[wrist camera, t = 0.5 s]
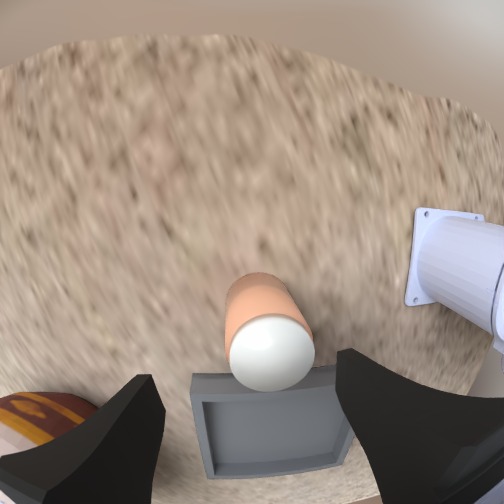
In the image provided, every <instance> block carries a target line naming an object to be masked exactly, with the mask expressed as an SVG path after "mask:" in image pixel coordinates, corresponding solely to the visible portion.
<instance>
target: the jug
mask: <svg viewBox="0 0 504 504" xmlns="http://www.w3.org/2000/svg"><path fill="white" fill-rule="evenodd" d="M97 410H98V408H96V407H95V406H93V405H92V404H91V403H89V402H87V401H86V400H84V399H82V398H80V397H77V396H75V395H72V394H67V393H53V392H19V393H15V394H12V395H9V396H6V397H2V398H0V457H1V456H2V455H8V454H12V453H17V452H21V451H25V450H28V449H31V448H34V447H37V446H39V445H42V444H44V443H47V442H49V441H51V440H53V439H55V438H57V437H59V436H61V435H63V434H65V433H66V432H68V431H70V430H71V429H73V428H74V427H76V426H78V425H79V424H81V423H82V422H83V421H85V420H86V419H87V418H89V417H90V416H91V415H92V414H94V413H95V412H96V411H97ZM0 500H1V501H2V502H4V503H5V504H16V503H14V502H13V501H12V500H11V499H10V498H9V497H7V496H6V495H5V494H4V493H3V492H2V491H1V490H0Z"/></svg>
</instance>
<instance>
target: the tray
mask: <svg viewBox="0 0 504 504" xmlns="http://www.w3.org/2000/svg"><path fill="white" fill-rule="evenodd" d="M336 366H337V365H332V366H324V367H316V368H311V369H310V370H309V372H308V373H307V374H306V376H305V377H304V378H303V379H301V380H300V381H299V382H298V383H296V384H294V385H293V386H291V387H288V388H286V389H283V390H279V391H273V392H262V391H256V390H253V389H250V388H248V387H246V386H244V385H243V384H241V383H240V382H239V381H238V380H237V379H236V378H235V376H234V375H233V373H230V374H195V373H193V375H192V382H191V388H190V399H191V405H192V410H193V416H194V421H195V426H196V431H197V436H198V441H199V445H200V450H201V454H202V458H203V463H204V467H205V471H206V475H207V479H246V478H262V477H273V476H282V475H290V474H297V473H304V472H310V471H315V470H321V469H326V468H330V467H335V466H339V465H342V463H343V461H344V459H345V457H346V454H347V452H348V450H349V447H350V445H351V442H352V440H353V437H354V435H355V433H354V431H353V429H352V427H351V425H350V424H349V422H348V420H347V418H346V416H345V414H344V412H343V410H342V408H341V405H340V403H339V400H338V397H337V394H336V392H335V382H336Z"/></svg>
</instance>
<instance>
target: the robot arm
mask: <svg viewBox="0 0 504 504" xmlns="http://www.w3.org/2000/svg"><path fill="white" fill-rule="evenodd" d="M425 212H426V216H424V213H425ZM414 299H415V300H414ZM413 300H414V301H413ZM404 302H405V304H406V305H407V306H416V305H423V304H429V303H435V302H440V303H441V304H443V305H445V306H446V307H448V308H450V309H451V310H453V311H455V312H456V313H458V314H459V315H461V316H463V317H464V318H466V319H468V320H469V321H471V322H472V323H474V324H475V325H477V326H479V327H480V328H482V329H483V330H485V331H486V332H488V333H490V334H491V335H493V336H494V337H495V341H494V345H493V348H494V349H496V350H497V351H499V352H500V353H502V354H503V355H502V361H501V365H502V370H503V373H504V226H501V225H497V224H492V223H487V222H484V216H483V215H482V214H475V213H467V212H459V211H451V210H442V209H432V208H422V207H419V208H417V209H416V211H415V220H414V234H413V244H412V254H411V262H410V269H409V276H408V283H407V289H406V295H405V301H404ZM335 392H336V394H337V397H338V400H339V403H340V405H341V408H342V410H343V412H344V414H345V416H346V418H347V420H348V422H349V424H350V425H351V427H352V429H353V431H354V433H355V435H356V436H357V438H358V440H359V442H360V444H361V446H362V447H363V449H364V451H365V453H366V456H367V458H368V460H369V463H370V466H371V468H372V471H373V474H374V477H375V479H376V482H377V485H378V488H379V491H380V495H381V498H382V502H383V504H504V398H481V397H470V396H463V395H457V394H453V393H448V392H444V391H440V390H436V389H433V388H430V387H427V386H424V385H421V384H419V383H416V382H414V381H411V380H409V379H407V378H405V377H403V376H400V375H398V374H396V373H394V372H392V371H391V370H389V369H387V368H385V367H383V366H381V365H380V364H378V363H376V362H374V361H373V360H371V359H369V358H368V357H366V356H364V355H363V354H361V353H359V352H358V351H356V350H354V349H352V348H350V349H346V350H342V351H338V352H337V366H336V382H335ZM165 413H166V410H165V408H164V405H163V403H162V401H161V398H160V396H159V393H158V391H157V388H156V386H155V383H154V380H153V378H152V375H151V374H137V375H136V376H135V377H134V378H133V379H131V380H130V381H129V382H128V383H127V384H126V385H125V386H124V387H123V388H122V389H121V390H120V391H119V392H118V393H117V394H115V395H114V396H113V397H112V398H111V399H110V400H109V401H108V402H107V403H106V404H104V405H103V406H102V407H101V408H100V409H98V410H97V411H96V412H95V413H94V414H92V415H91V416H90V417H89V418H87V419H86V420H85V421H83V422H82V423H81V424H79V425H78V426H76V427H74V428H73V429H71V430H70V431H68V432H66V433H65V434H63V435H61V436H59V437H57V438H55V439H53V440H51V441H49V442H47V443H44V444H42V445H39V446H37V447H34V448H31V449H28V450H25V451H21V452H17V453H12V454H8V455H2V456H1V457H0V490H1V491H2V492H3V493H4V494H5V495H6V496H7V497H9V498H10V499H11V500H12V501H13V502H14V503H16V504H151V494H152V482H153V476H154V471H155V466H156V462H157V458H158V454H159V450H160V445H161V441H162V437H163V433H164V424H165ZM0 504H5V503H4V502H2V501H1V500H0Z"/></svg>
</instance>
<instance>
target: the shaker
mask: <svg viewBox="0 0 504 504" xmlns="http://www.w3.org/2000/svg"><path fill="white" fill-rule="evenodd" d="M225 353H226V358H227V361H228V363H229V365H230V368H231V371H232V373H233V375H234V376H235V378H236V379H237V380H238V381H239V382H240V383H241V384H243V385H244V386H246V387H248V388H250V389H253V390H256V391H262V392H273V391H279V390H283V389H286V388H288V387H291V386H293V385H294V384H296V383H298V382H299V381H300V380H301V379H303V378H304V377H305V376H306V374H307V373H308V372H309V370H310V369H311V367H312V365H313V362H314V358H315V348H314V344H313V336H312V332H311V330H310V328H309V326H308V324H307V323H306V321H305V319H304V317H303V316H302V314H301V312H300V311H299V309H298V307H297V306H296V304H295V302H294V301H293V299H292V297H291V295H290V294H289V292H288V290H287V289H286V287H285V286H284V284H283V283H282V282H281V281H280V280H279V279H278V278H276V277H275V276H272V275H270V274H267V273H251V274H248V275H245V276H243V277H241V278H240V279H238V280H237V281H236V282H235V283H234V284H233V285H232V286H231V288H230V289H229V291H228V293H227V297H226V320H225Z"/></svg>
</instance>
